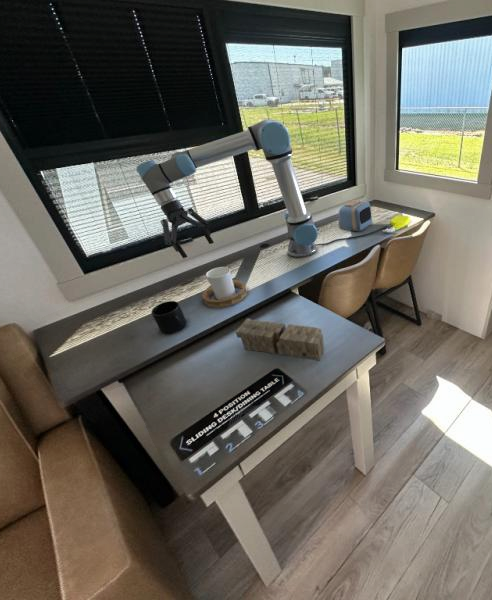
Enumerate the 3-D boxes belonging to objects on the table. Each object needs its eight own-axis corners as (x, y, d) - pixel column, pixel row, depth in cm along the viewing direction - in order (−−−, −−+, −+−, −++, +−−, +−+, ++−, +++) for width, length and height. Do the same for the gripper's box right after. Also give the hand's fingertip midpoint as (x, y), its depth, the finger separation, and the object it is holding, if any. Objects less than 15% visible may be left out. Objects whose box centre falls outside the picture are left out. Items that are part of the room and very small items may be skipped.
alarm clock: (359, 233, 190) (358, 206, 181) (337, 228, 198) (335, 203, 189) (373, 224, 201) (372, 199, 192) (351, 220, 209) (350, 196, 200)
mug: (173, 339, 116) (163, 320, 111) (156, 329, 122) (146, 311, 117) (196, 325, 122) (187, 306, 117) (178, 316, 128) (169, 298, 123)
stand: (245, 281, 149) (244, 276, 147) (248, 301, 134) (246, 295, 133) (205, 290, 144) (203, 285, 143) (204, 311, 130) (201, 305, 128)
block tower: (327, 347, 109) (252, 334, 115) (325, 328, 104) (247, 316, 111) (319, 363, 102) (240, 349, 109) (317, 344, 98) (234, 330, 104)
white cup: (214, 293, 142) (205, 270, 135) (236, 287, 145) (229, 264, 138) (215, 304, 134) (206, 280, 127) (238, 298, 137) (231, 274, 130)
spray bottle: (411, 220, 201) (397, 235, 184) (395, 219, 206) (380, 233, 188) (411, 216, 199) (397, 230, 182) (395, 214, 204) (380, 228, 187)
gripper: (190, 194, 136) (217, 239, 145) (135, 215, 119) (169, 265, 128) (199, 190, 131) (226, 236, 140) (142, 211, 115) (177, 262, 123)
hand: (199, 250), depth 134 cm, fingers open, 13 cm apart
